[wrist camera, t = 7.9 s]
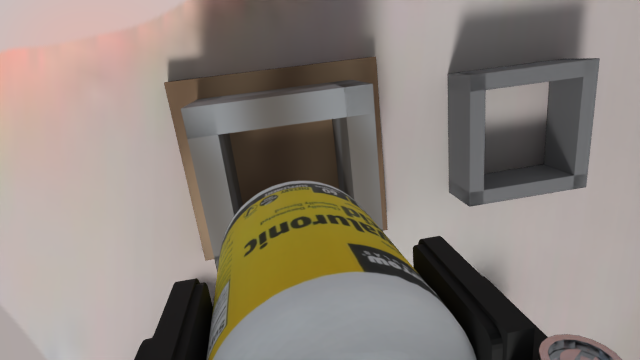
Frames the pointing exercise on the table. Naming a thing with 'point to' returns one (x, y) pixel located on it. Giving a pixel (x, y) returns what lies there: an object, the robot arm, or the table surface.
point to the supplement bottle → (322, 286)
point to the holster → (561, 132)
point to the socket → (278, 138)
